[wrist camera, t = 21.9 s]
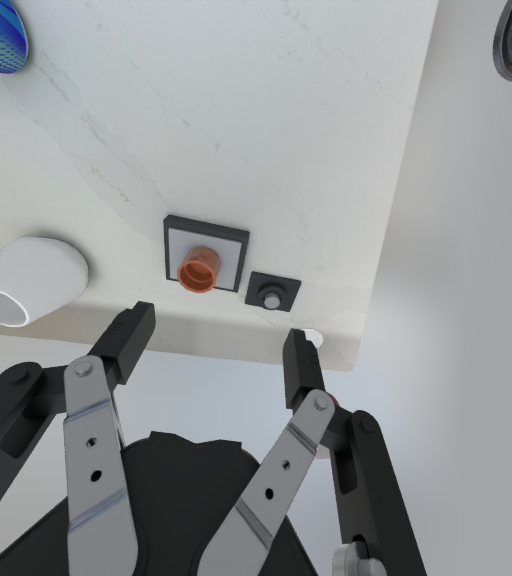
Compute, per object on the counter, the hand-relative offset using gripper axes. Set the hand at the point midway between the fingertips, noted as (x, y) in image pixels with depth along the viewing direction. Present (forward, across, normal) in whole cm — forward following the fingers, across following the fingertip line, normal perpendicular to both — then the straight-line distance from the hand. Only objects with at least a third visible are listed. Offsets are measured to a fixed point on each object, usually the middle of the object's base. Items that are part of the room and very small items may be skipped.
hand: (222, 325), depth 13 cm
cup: (+28, +34, +20) cm, 49 cm away
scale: (+28, +6, +12) cm, 31 cm away
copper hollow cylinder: (+25, +6, +12) cm, 28 cm away
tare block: (+28, -8, +18) cm, 34 cm away
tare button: (+26, -8, +18) cm, 33 cm away
